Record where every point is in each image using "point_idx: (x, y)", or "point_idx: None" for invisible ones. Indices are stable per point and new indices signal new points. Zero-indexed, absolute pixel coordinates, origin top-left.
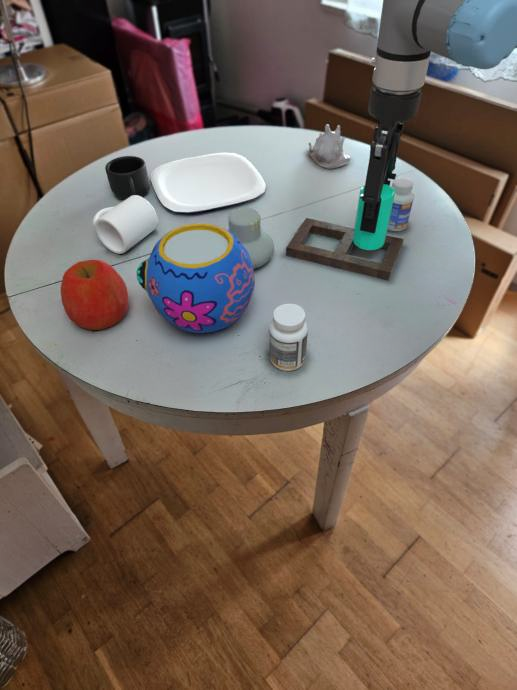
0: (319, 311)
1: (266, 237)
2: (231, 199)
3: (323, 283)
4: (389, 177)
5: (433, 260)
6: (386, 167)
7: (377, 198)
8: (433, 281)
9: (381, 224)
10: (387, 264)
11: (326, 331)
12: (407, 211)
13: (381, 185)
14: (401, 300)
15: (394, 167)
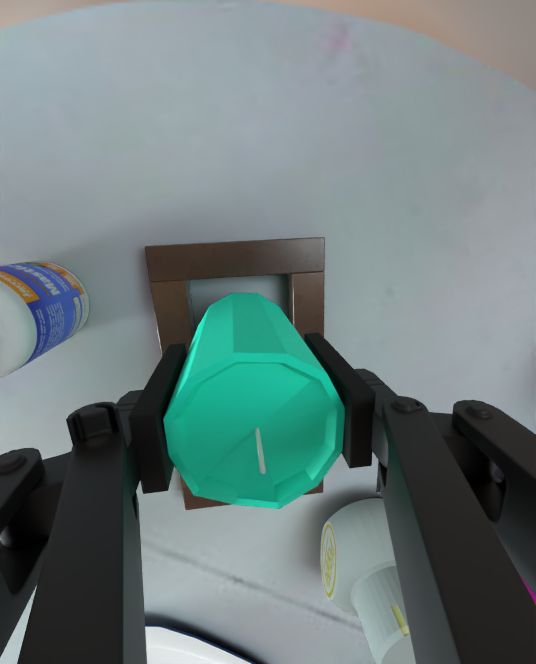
0: (466, 344)
1: (371, 551)
2: (195, 655)
3: (379, 372)
4: (123, 438)
5: (167, 134)
6: (522, 599)
7: (517, 422)
8: (269, 113)
9: (292, 327)
10: (293, 256)
11: (518, 309)
12: (21, 274)
13: (454, 464)
14: (379, 183)
15: (14, 463)
